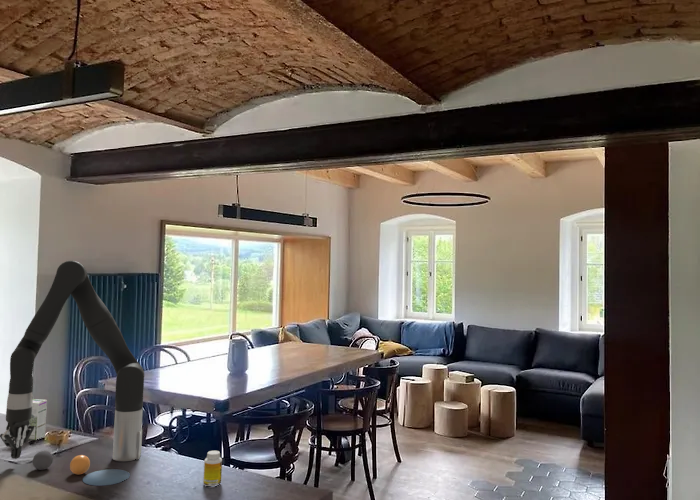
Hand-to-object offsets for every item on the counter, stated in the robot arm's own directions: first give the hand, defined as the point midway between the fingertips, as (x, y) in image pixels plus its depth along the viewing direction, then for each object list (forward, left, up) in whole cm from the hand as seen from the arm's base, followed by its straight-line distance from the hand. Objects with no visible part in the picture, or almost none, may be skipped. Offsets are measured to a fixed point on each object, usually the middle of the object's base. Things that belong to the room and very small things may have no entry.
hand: (15, 457), depth 189 cm
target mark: (-31, +14, -3) cm, 34 cm away
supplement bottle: (-64, +25, -3) cm, 69 cm away
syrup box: (+4, -33, -3) cm, 33 cm away
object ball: (-22, +10, 0) cm, 24 cm away
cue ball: (-9, +4, 0) cm, 10 cm away
